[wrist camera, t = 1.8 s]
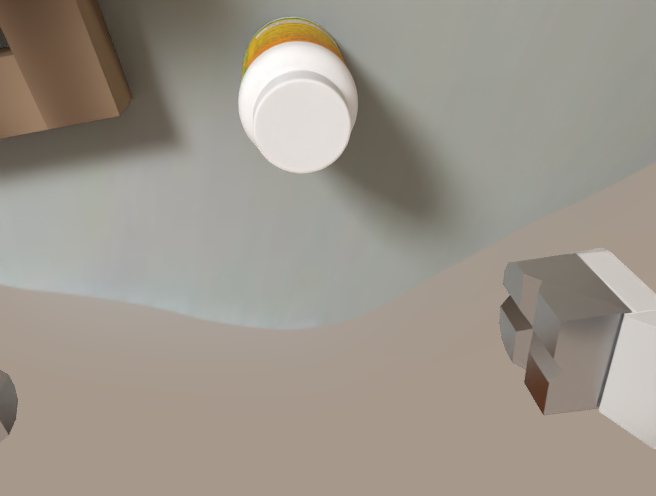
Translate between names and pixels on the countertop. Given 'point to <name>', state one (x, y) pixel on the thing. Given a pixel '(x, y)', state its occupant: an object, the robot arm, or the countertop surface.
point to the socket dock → (57, 66)
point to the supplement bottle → (297, 95)
